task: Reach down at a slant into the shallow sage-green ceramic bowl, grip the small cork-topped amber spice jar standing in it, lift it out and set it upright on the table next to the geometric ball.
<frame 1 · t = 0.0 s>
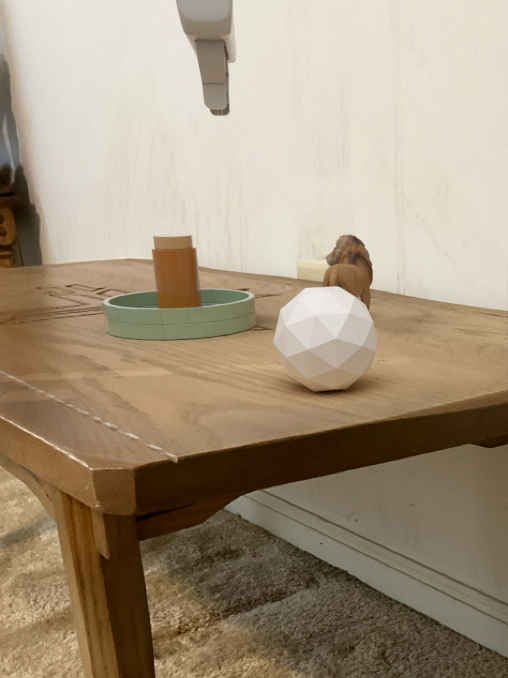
hand: (218, 112, 73), 20 cm above the table, tool pointing down, fingers open, 8 cm apart
geometric ball: (328, 390, 66), on the table
lion figurine: (345, 328, 91), on the table
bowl: (183, 332, 89), on the table
spice jar: (183, 326, 89), point 1 cm above the table, touching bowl
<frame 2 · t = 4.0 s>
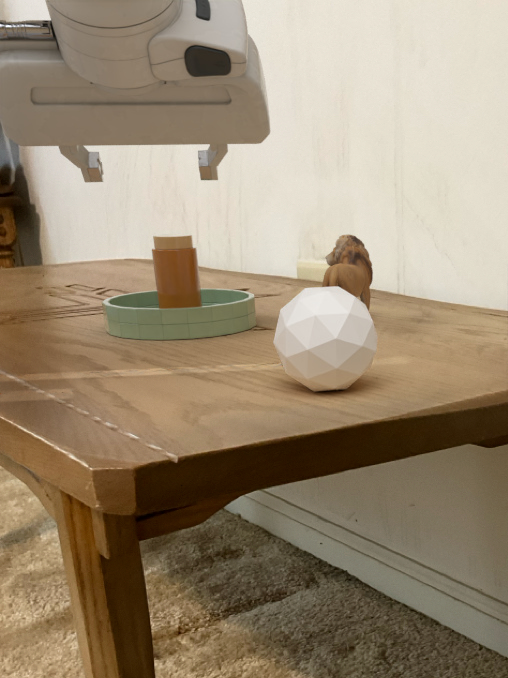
hand: (152, 175, 72), 15 cm above the table, tool tilted 45°, fingers open, 8 cm apart
nothing on the table moved.
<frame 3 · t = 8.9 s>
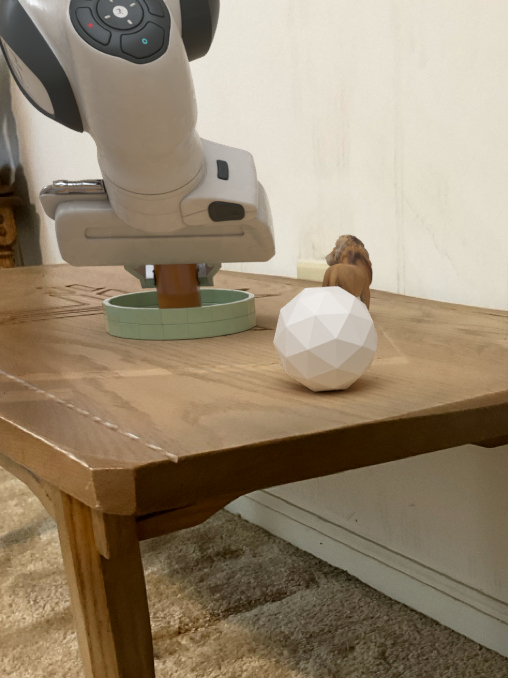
hand: (178, 282, 88), 5 cm above the table, tool tilted 45°, fingers closed on spice jar, 4 cm apart
spice jar: (182, 326, 89), point 1 cm above the table, touching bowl, gripper
everything else where it was.
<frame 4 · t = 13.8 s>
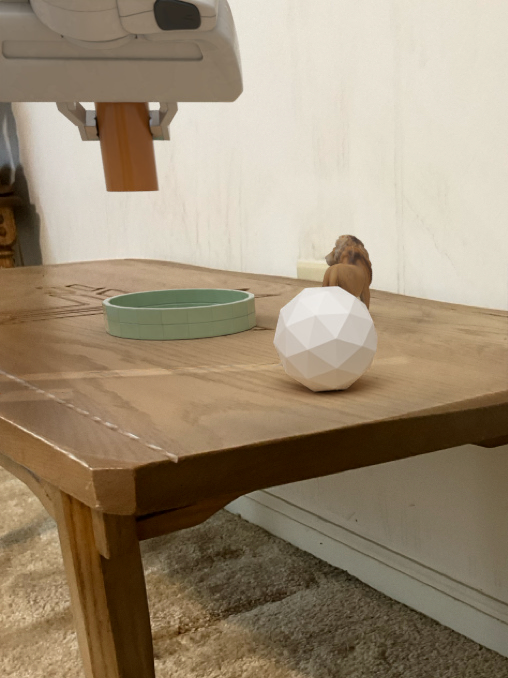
hand: (127, 135, 72), 18 cm above the table, tool tilted 45°, fingers closed on spice jar, 4 cm apart
spice jar: (133, 191, 73), point 14 cm above the table, touching gripper
everything else where it was.
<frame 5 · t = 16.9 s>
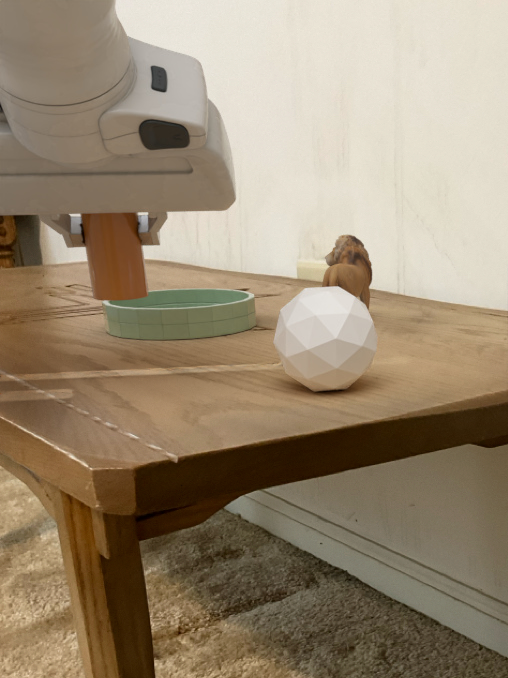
hand: (115, 240, 69), 10 cm above the table, tool tilted 45°, fingers closed on spice jar, 4 cm apart
spice jar: (121, 296, 70), point 6 cm above the table, touching gripper
everything else where it was.
when the fingers open (4 cm above the table, at t = 19.0 s): spice jar stays where it is, on the table.
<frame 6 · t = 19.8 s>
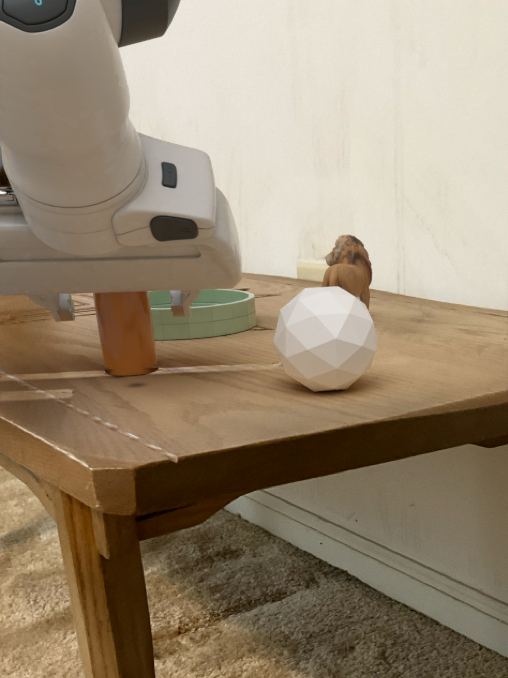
hand: (124, 312, 71), 5 cm above the table, tool tilted 45°, fingers open, 8 cm apart
spice jar: (131, 370, 72), on the table
everything else where it was.
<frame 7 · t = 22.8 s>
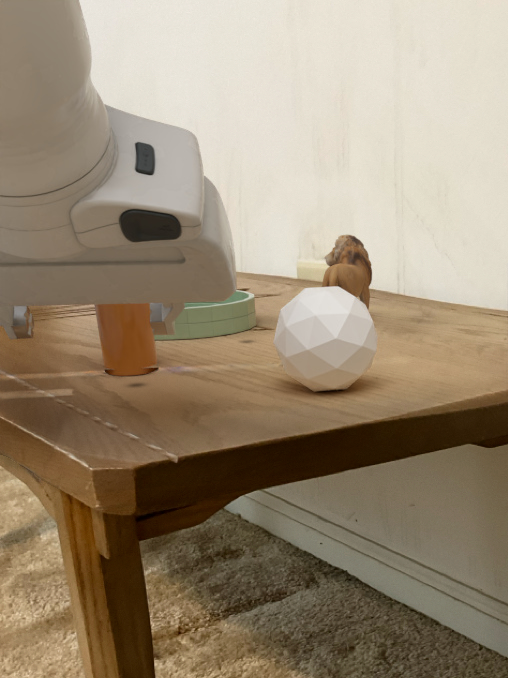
hand: (94, 329, 59), 6 cm above the table, tool tilted 45°, fingers open, 8 cm apart
nothing on the table moved.
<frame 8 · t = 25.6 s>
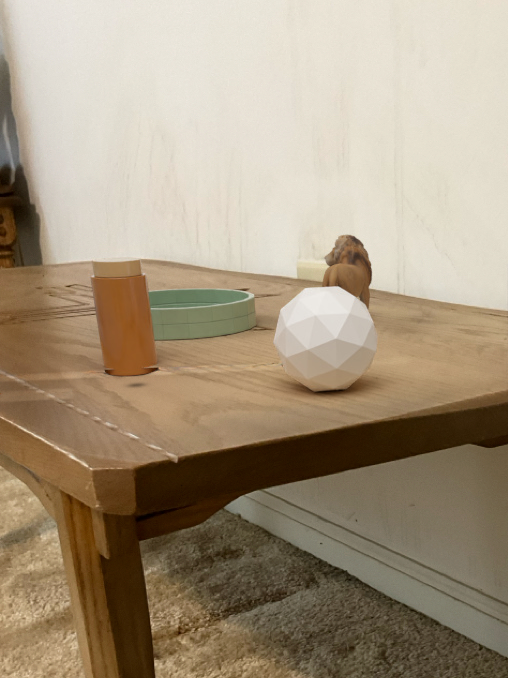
nothing on the table moved.
at the end: spice jar inside the target area (0.0 cm from its centre), on the table; spice jar 18.8 cm from the geometric ball (horizontally); spice jar tilted 0° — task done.
